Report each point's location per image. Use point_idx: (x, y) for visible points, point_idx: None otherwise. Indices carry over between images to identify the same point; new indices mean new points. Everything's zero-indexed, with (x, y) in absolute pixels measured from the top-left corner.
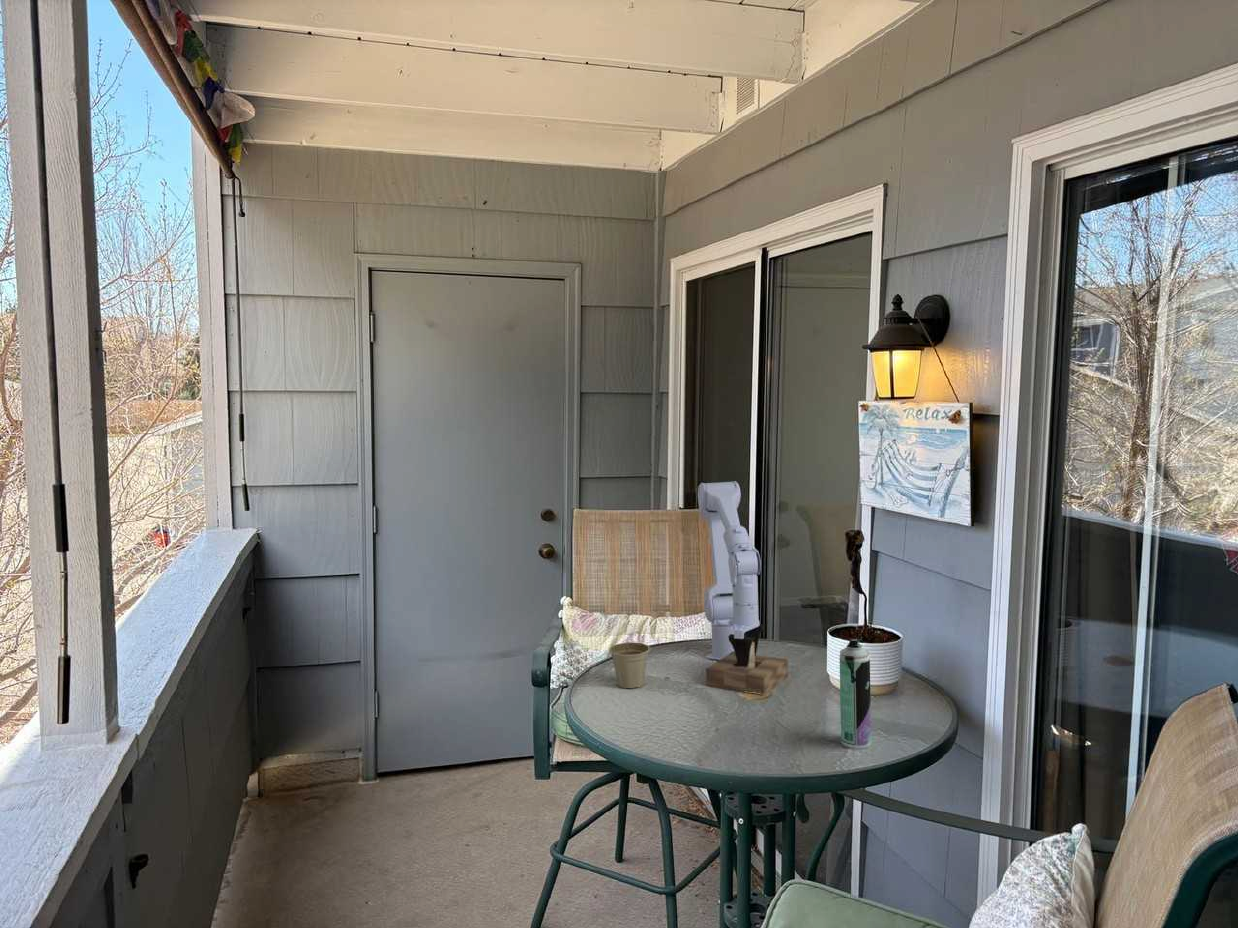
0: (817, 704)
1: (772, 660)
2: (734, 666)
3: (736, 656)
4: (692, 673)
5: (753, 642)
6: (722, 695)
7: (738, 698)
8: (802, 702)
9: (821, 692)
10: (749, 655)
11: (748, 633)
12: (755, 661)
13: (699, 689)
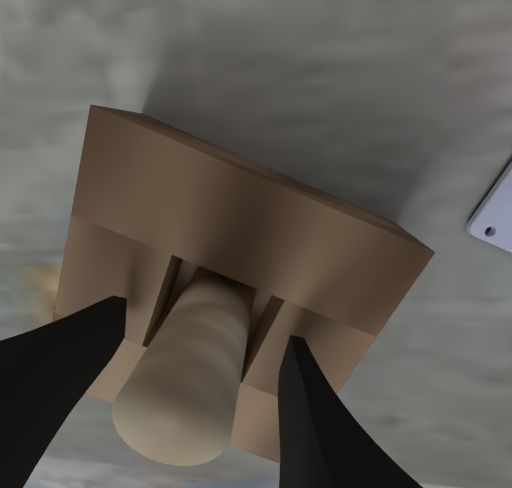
0: (67, 444)
1: (272, 418)
2: (164, 265)
3: (65, 318)
4: (316, 6)
5: (188, 461)
6: (50, 192)
7: (40, 251)
8: (69, 417)
9: (156, 461)
10: (83, 389)
11: (300, 485)
12: (254, 357)
13: (88, 80)
